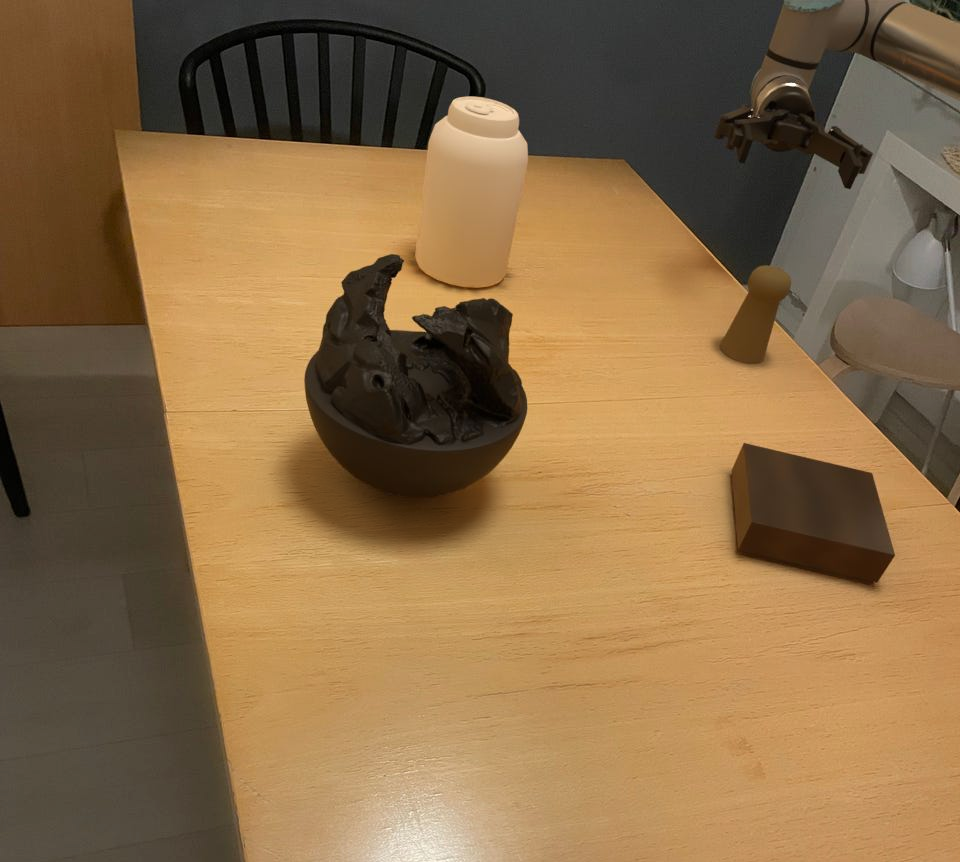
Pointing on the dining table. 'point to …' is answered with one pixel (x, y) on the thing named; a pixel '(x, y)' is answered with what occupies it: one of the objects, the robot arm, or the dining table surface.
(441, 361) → the bowl of black rocks
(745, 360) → the wooden peg doll
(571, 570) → the dining table surface
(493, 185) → the can
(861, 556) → the walnut stand
